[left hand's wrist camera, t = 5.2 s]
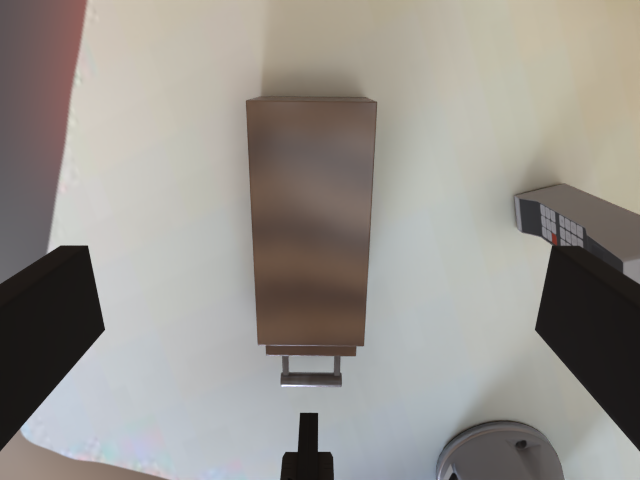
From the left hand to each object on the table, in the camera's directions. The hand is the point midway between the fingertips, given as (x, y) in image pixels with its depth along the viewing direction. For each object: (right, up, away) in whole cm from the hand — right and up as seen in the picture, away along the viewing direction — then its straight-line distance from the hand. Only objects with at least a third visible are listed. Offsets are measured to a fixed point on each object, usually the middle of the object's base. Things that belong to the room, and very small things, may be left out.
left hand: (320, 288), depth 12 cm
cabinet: (-1, +5, +31) cm, 31 cm away
